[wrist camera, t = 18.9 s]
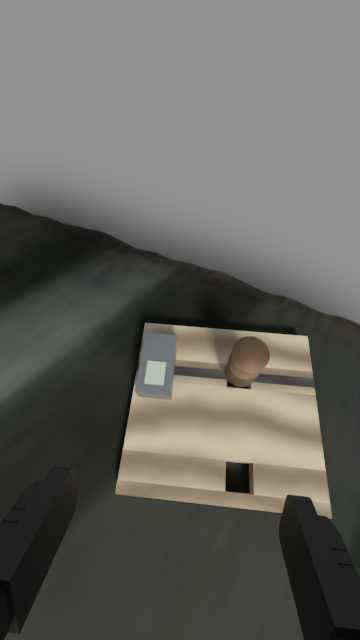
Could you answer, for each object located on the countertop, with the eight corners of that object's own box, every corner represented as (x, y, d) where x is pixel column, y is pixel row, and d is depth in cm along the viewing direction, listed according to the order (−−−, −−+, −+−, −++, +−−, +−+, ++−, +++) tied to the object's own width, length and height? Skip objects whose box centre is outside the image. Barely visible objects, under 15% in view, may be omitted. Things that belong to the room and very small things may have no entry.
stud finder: (171, 400, 37) (171, 394, 34) (137, 396, 37) (134, 390, 34) (177, 344, 40) (177, 334, 38) (146, 341, 41) (144, 331, 38)
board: (322, 515, 33) (332, 518, 30) (119, 492, 34) (114, 494, 32) (301, 343, 43) (307, 335, 41) (146, 330, 44) (145, 322, 42)
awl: (248, 397, 39) (271, 372, 29) (219, 394, 39) (232, 368, 30) (247, 370, 41) (268, 337, 31) (220, 367, 41) (232, 334, 32)
